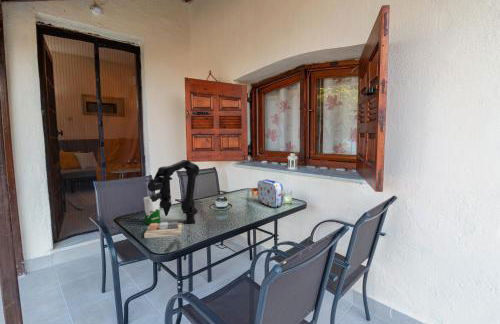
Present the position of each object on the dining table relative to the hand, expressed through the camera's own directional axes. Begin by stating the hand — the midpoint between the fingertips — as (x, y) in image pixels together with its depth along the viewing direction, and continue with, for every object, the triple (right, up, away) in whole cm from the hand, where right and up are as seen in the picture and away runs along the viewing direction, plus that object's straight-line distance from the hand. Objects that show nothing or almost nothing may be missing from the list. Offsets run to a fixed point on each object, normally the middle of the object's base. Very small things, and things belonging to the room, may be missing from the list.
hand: (166, 213), depth 150 cm
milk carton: (-15, -11, +18) cm, 26 cm away
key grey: (-2, -10, +2) cm, 10 cm away
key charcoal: (+4, -10, +3) cm, 11 cm away
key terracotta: (-8, -10, +1) cm, 13 cm away
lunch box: (+68, -6, +62) cm, 92 cm away
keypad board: (-2, -12, +2) cm, 12 cm away
